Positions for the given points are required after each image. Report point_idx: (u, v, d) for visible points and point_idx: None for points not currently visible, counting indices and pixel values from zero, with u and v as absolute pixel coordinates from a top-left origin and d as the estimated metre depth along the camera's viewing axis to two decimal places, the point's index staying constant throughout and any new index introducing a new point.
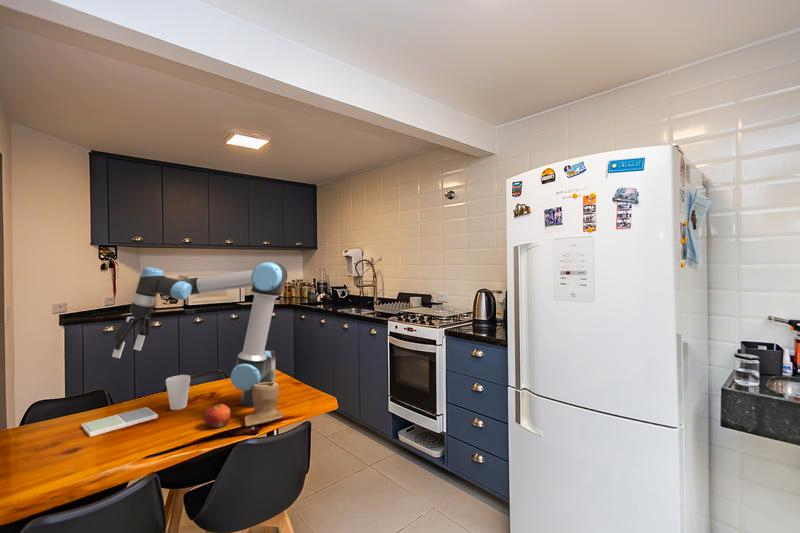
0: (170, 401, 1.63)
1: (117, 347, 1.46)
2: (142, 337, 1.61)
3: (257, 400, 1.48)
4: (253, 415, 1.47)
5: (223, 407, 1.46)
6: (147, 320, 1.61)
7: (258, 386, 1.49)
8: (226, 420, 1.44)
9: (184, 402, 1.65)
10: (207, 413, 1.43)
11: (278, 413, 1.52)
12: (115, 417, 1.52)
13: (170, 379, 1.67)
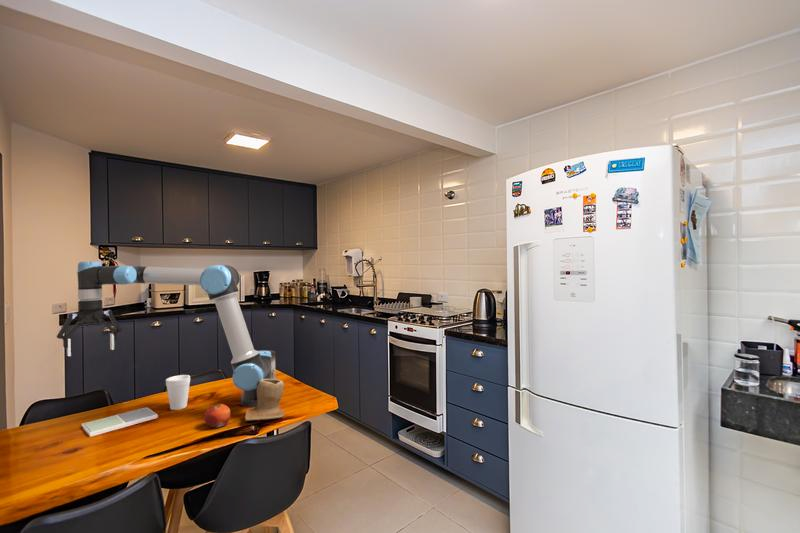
0: (170, 401, 1.63)
1: (63, 345, 1.43)
2: (111, 335, 1.54)
3: (260, 396, 1.49)
4: (254, 410, 1.49)
5: (223, 407, 1.46)
6: (110, 317, 1.54)
7: (263, 382, 1.50)
8: (226, 420, 1.44)
9: (184, 402, 1.65)
10: (207, 413, 1.43)
11: (279, 412, 1.52)
12: (115, 417, 1.52)
13: (170, 379, 1.67)
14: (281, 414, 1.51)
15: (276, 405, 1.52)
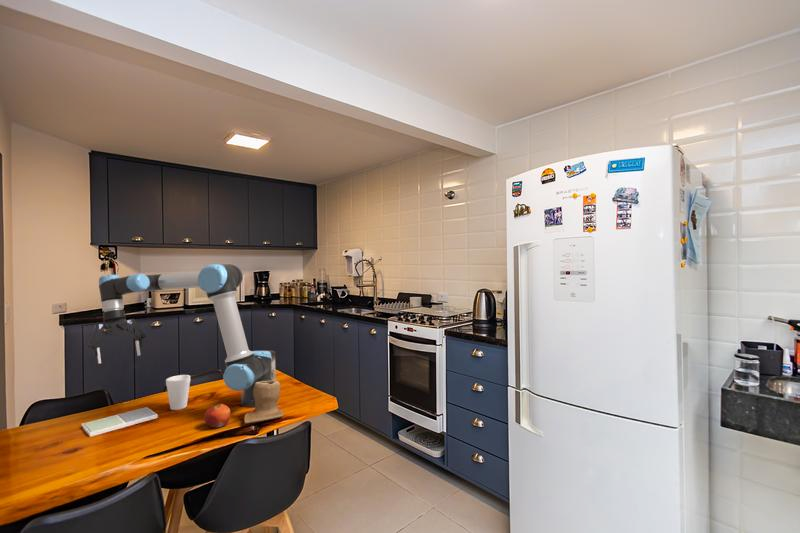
0: (170, 401, 1.63)
1: (93, 353, 1.54)
2: (136, 342, 1.64)
3: (257, 398, 1.49)
4: (253, 413, 1.48)
5: (223, 407, 1.46)
6: (133, 325, 1.65)
7: (258, 384, 1.50)
8: (226, 420, 1.44)
9: (184, 402, 1.65)
10: (207, 413, 1.43)
11: (278, 412, 1.52)
12: (115, 417, 1.52)
13: (170, 379, 1.67)
14: (280, 413, 1.51)
15: (274, 405, 1.52)
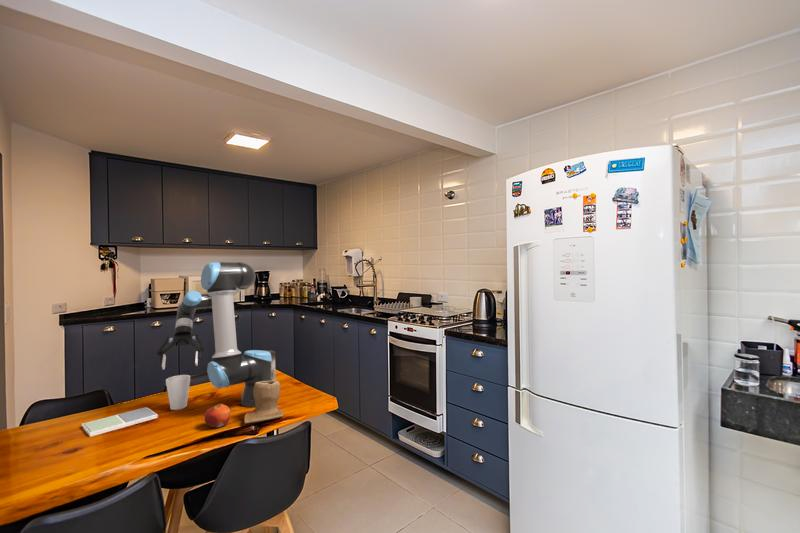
0: (170, 401, 1.63)
1: (160, 359, 1.75)
2: (196, 353, 1.81)
3: (257, 398, 1.49)
4: (253, 413, 1.48)
5: (223, 407, 1.46)
6: (196, 339, 1.86)
7: (258, 384, 1.50)
8: (226, 420, 1.44)
9: (184, 402, 1.65)
10: (207, 413, 1.43)
11: (278, 412, 1.52)
12: (115, 417, 1.52)
13: (170, 379, 1.67)
14: (280, 413, 1.51)
15: (274, 405, 1.52)
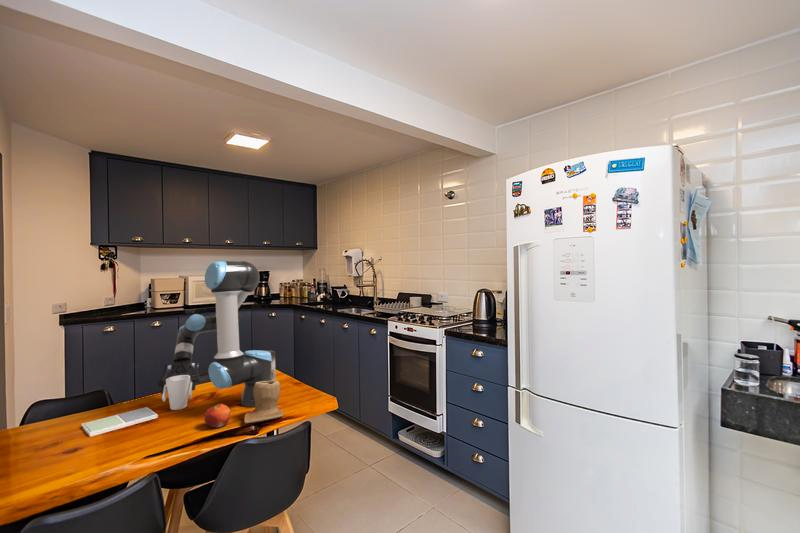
0: (170, 401, 1.63)
1: None
2: (190, 384, 1.68)
3: (257, 398, 1.49)
4: (253, 413, 1.48)
5: (223, 407, 1.46)
6: (194, 367, 1.74)
7: (258, 384, 1.50)
8: (226, 420, 1.44)
9: (184, 402, 1.65)
10: (207, 413, 1.43)
11: (278, 412, 1.52)
12: (115, 417, 1.52)
13: (170, 379, 1.67)
14: (280, 413, 1.51)
15: (274, 405, 1.52)
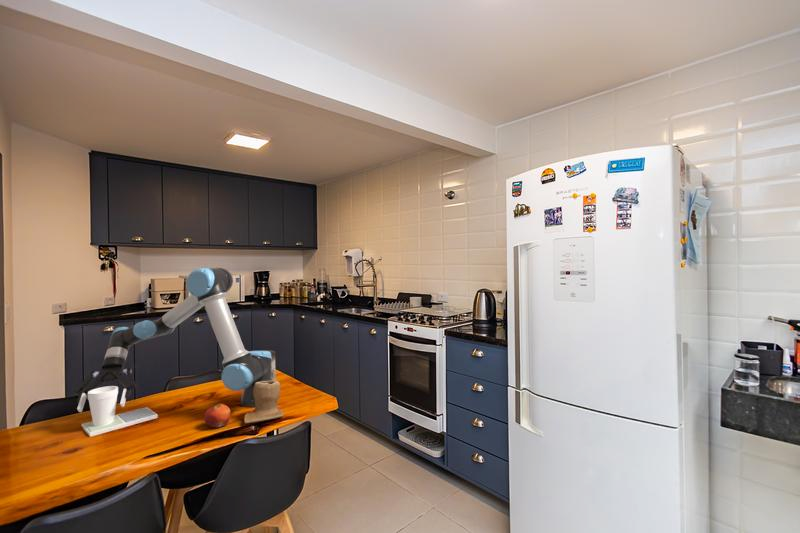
0: (92, 416, 1.43)
1: None
2: None
3: (257, 398, 1.49)
4: (253, 413, 1.48)
5: (223, 407, 1.46)
6: (127, 374, 1.55)
7: (258, 384, 1.50)
8: (226, 420, 1.44)
9: (110, 417, 1.45)
10: (207, 413, 1.43)
11: (278, 412, 1.52)
12: (115, 417, 1.52)
13: (94, 391, 1.47)
14: (280, 413, 1.51)
15: (274, 405, 1.52)
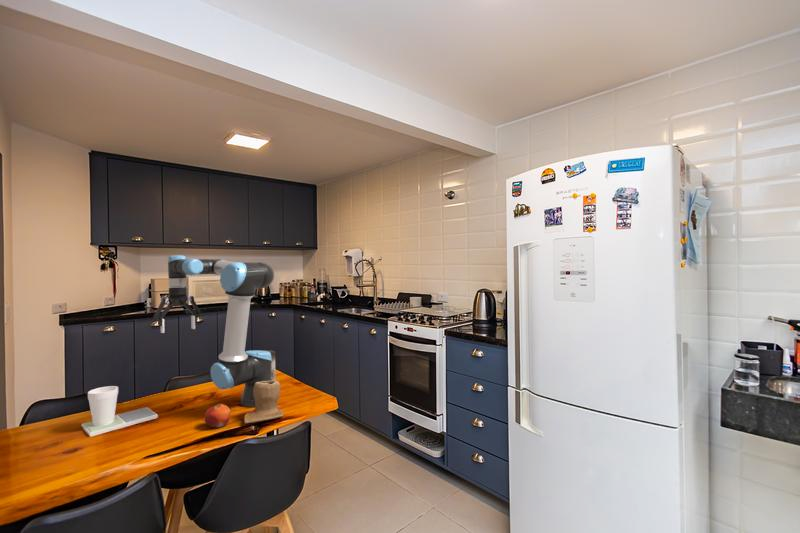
0: (93, 416, 1.43)
1: (158, 323, 1.74)
2: (192, 317, 1.85)
3: (257, 398, 1.49)
4: (253, 413, 1.48)
5: (223, 407, 1.46)
6: (191, 302, 1.85)
7: (258, 384, 1.50)
8: (226, 420, 1.44)
9: (110, 417, 1.45)
10: (207, 413, 1.43)
11: (278, 412, 1.52)
12: (115, 417, 1.52)
13: (95, 391, 1.47)
14: (280, 413, 1.51)
15: (274, 405, 1.52)
